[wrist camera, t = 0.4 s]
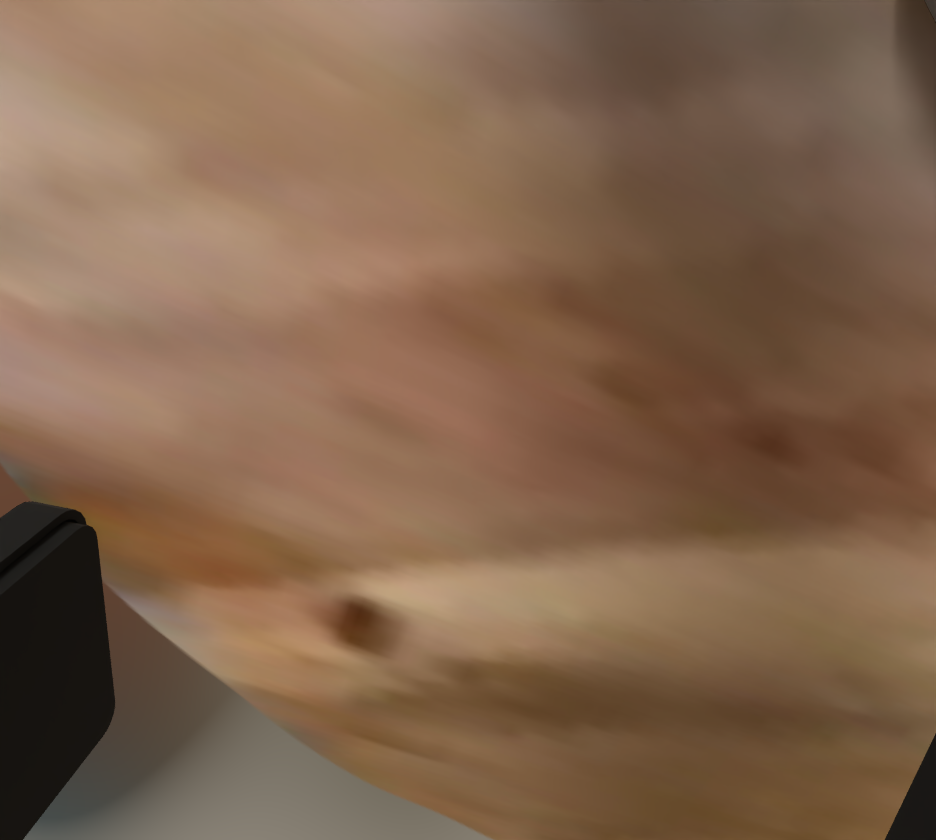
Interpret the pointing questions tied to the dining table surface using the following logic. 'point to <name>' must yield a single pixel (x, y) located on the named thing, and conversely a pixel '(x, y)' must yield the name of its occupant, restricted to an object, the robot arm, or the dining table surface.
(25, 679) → the robot arm
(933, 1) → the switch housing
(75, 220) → the dining table surface
